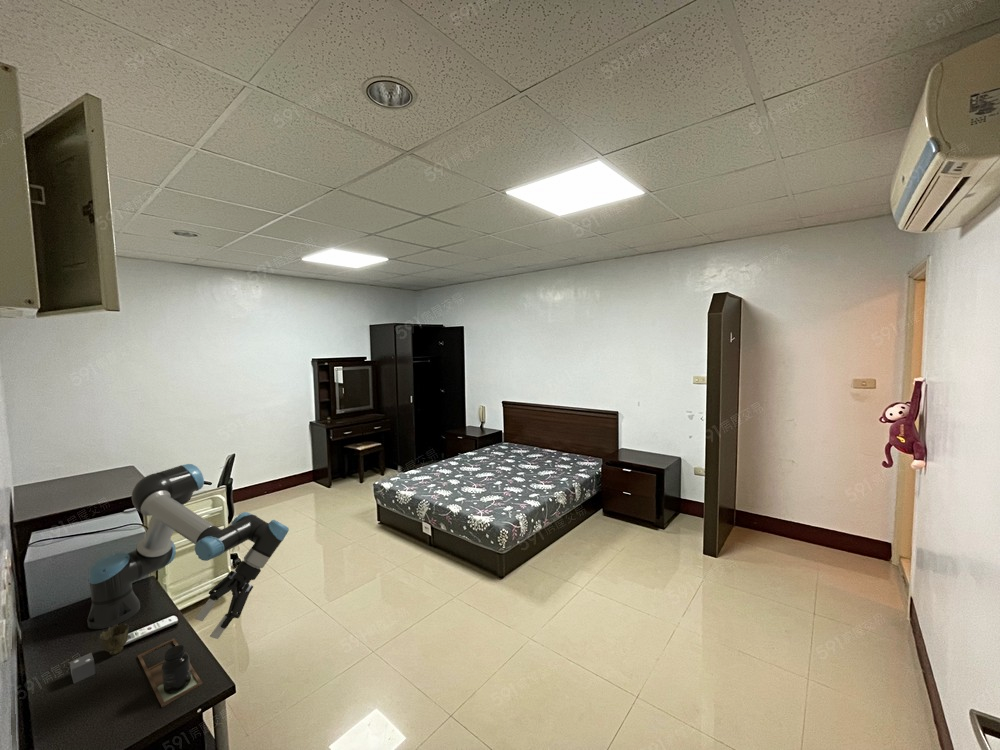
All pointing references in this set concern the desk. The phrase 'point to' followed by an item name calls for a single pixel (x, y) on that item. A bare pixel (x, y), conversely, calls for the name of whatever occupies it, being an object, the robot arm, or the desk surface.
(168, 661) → the supplement bottle
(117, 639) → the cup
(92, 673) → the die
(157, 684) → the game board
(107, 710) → the desk surface
